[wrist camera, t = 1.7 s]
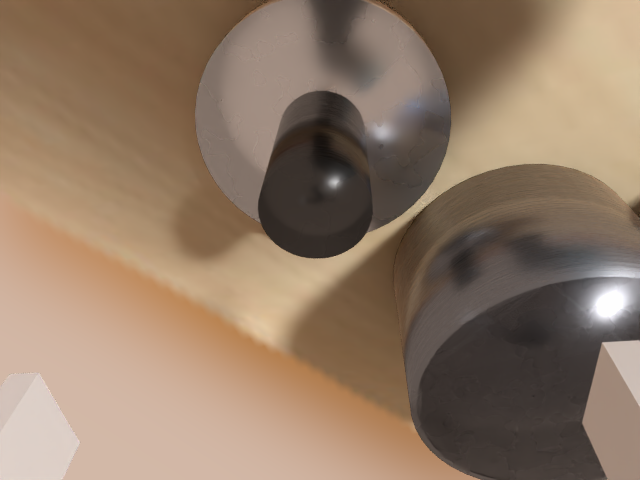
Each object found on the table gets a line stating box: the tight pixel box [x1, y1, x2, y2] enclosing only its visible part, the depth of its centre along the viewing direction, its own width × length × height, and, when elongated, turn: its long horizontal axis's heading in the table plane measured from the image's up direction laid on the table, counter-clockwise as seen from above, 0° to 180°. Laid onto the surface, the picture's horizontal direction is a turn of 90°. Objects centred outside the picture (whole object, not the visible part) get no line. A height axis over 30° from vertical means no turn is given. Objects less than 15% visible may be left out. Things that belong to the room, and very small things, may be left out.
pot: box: [393, 164, 640, 480], centre depth 29 cm, size 15×15×10 cm
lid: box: [195, 0, 451, 258], centre depth 24 cm, size 13×13×10 cm
